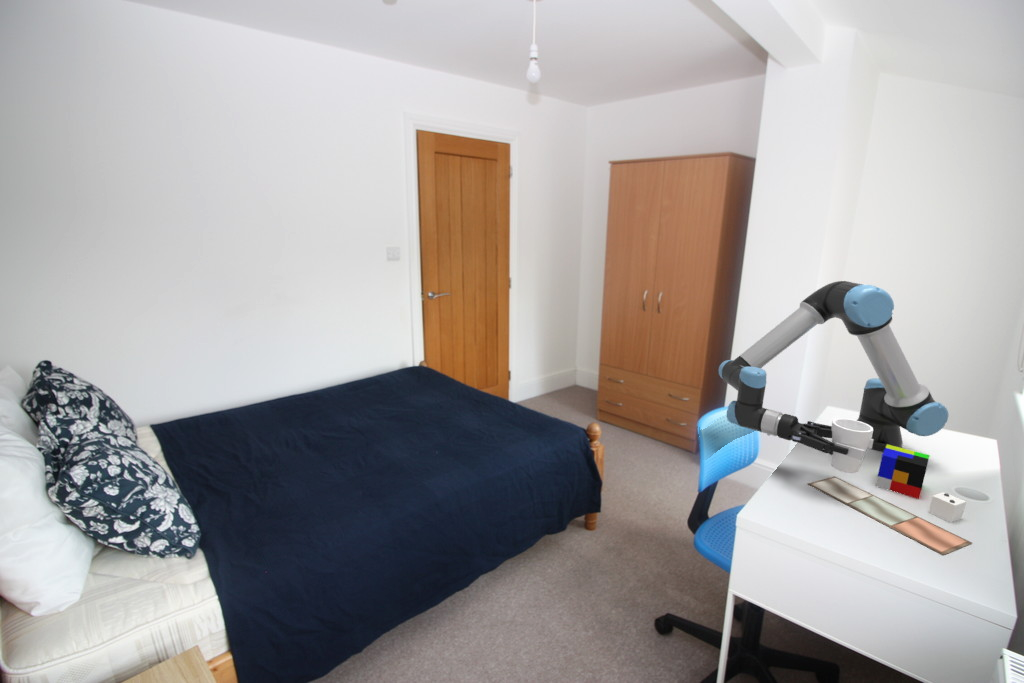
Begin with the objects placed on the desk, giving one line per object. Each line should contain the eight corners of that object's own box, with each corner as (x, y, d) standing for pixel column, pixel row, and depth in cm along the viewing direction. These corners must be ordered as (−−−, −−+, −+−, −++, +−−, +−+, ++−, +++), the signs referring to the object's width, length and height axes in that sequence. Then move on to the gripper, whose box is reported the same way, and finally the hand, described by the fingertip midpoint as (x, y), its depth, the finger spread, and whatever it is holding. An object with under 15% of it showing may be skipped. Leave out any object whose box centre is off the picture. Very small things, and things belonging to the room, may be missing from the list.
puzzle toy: (875, 486, 144) (882, 455, 142) (880, 474, 151) (886, 444, 149) (918, 499, 138) (926, 466, 135) (922, 486, 145) (929, 455, 142)
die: (939, 508, 133) (944, 490, 132) (961, 518, 129) (966, 499, 127) (928, 512, 131) (933, 493, 130) (950, 522, 127) (955, 503, 125)
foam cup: (825, 457, 146) (832, 416, 143) (863, 465, 141) (871, 422, 138) (825, 470, 138) (833, 427, 135) (865, 479, 133) (874, 434, 130)
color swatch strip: (834, 476, 149) (834, 476, 149) (972, 543, 118) (972, 542, 118) (807, 484, 144) (807, 483, 144) (943, 555, 114) (943, 554, 114)
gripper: (791, 426, 159) (875, 450, 143) (764, 447, 144) (854, 475, 128) (794, 404, 157) (879, 426, 141) (768, 423, 142) (859, 449, 126)
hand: (867, 449), depth 135 cm, fingers closed on foam cup, 9 cm apart
